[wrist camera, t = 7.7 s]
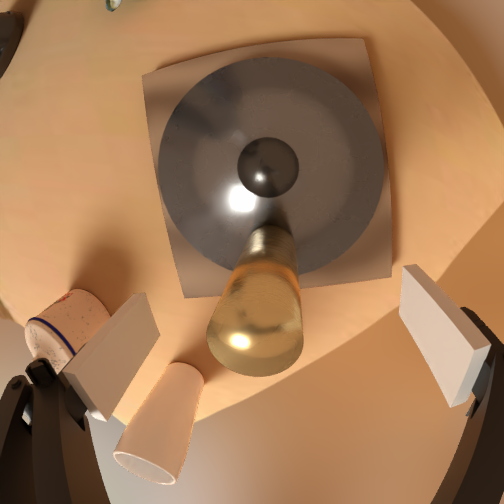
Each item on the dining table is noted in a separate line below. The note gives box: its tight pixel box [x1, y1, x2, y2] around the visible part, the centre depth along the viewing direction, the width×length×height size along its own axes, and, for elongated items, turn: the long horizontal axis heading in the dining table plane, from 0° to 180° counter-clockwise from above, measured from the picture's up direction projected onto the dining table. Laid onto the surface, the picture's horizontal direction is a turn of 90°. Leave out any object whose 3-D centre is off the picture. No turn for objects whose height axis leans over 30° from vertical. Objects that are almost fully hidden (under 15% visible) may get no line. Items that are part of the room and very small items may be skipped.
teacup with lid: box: [25, 289, 111, 374], centre depth 27 cm, size 12×9×12 cm
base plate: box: [142, 38, 392, 298], centre depth 22 cm, size 22×20×2 cm
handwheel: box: [158, 57, 384, 377], centre depth 15 cm, size 18×18×13 cm
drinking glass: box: [113, 362, 204, 485], centre depth 25 cm, size 7×7×15 cm
